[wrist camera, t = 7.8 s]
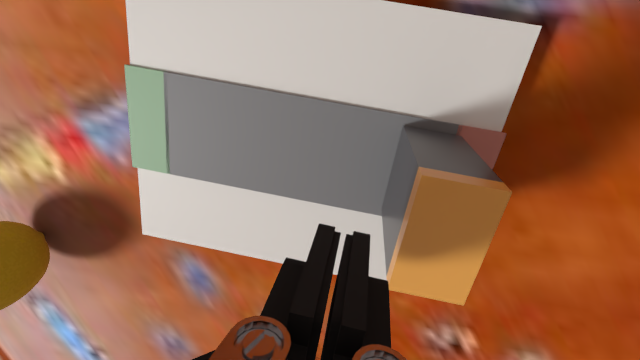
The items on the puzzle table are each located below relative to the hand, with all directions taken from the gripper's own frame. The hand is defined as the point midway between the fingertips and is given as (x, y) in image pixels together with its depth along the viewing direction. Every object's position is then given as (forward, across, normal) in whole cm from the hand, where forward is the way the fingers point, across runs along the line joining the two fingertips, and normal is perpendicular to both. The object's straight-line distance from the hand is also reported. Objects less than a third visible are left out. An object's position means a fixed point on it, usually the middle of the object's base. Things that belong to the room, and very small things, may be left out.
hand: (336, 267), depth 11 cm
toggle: (+9, -3, -1) cm, 10 cm away
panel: (+10, +3, -1) cm, 11 cm away
